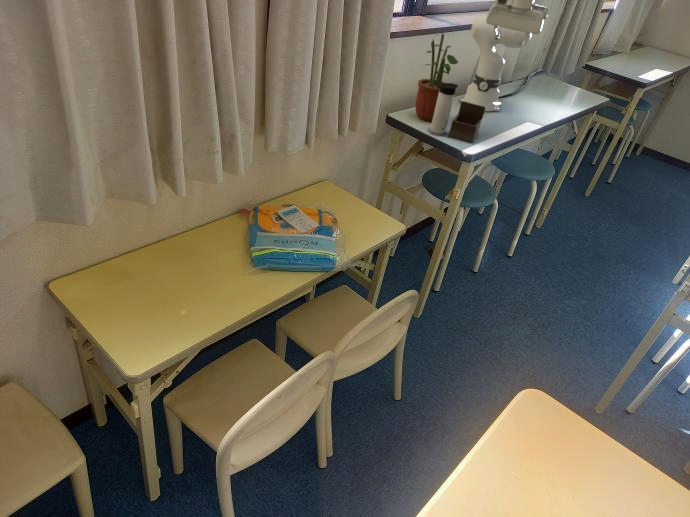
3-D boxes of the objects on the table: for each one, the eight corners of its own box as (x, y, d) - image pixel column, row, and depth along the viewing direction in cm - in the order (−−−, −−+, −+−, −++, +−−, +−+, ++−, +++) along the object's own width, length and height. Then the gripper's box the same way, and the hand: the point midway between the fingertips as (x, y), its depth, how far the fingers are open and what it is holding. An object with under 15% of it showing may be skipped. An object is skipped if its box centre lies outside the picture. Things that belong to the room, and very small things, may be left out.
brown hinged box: (454, 128, 207) (462, 100, 200) (477, 134, 205) (485, 106, 197) (448, 136, 199) (455, 108, 192) (471, 143, 196) (480, 114, 189)
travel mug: (445, 136, 199) (457, 87, 187) (429, 133, 199) (440, 84, 187) (445, 131, 204) (458, 83, 192) (430, 128, 204) (441, 80, 192)
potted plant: (434, 126, 206) (455, 39, 185) (401, 116, 211) (418, 29, 190) (448, 116, 218) (470, 32, 197) (417, 106, 224) (435, 24, 203)
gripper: (550, 5, 174) (537, 46, 182) (494, -6, 179) (483, 34, 187) (549, 8, 169) (535, 49, 177) (491, -4, 174) (480, 37, 183)
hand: (508, 41), depth 182 cm, fingers open, 8 cm apart
